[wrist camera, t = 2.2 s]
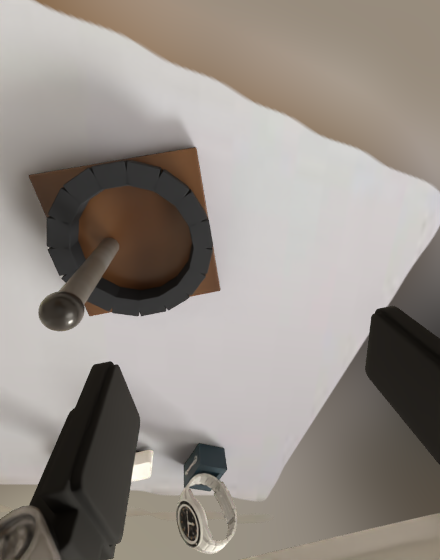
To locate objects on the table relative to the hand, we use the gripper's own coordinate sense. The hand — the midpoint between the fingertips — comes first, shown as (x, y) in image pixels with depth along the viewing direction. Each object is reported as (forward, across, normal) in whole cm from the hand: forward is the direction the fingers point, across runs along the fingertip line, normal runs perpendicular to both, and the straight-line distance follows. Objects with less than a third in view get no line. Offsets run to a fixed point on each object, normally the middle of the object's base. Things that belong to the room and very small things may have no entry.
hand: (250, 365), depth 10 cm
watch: (+19, +7, +36) cm, 41 cm away
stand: (+19, +7, 0) cm, 20 cm away
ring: (+18, +7, 0) cm, 19 cm away
